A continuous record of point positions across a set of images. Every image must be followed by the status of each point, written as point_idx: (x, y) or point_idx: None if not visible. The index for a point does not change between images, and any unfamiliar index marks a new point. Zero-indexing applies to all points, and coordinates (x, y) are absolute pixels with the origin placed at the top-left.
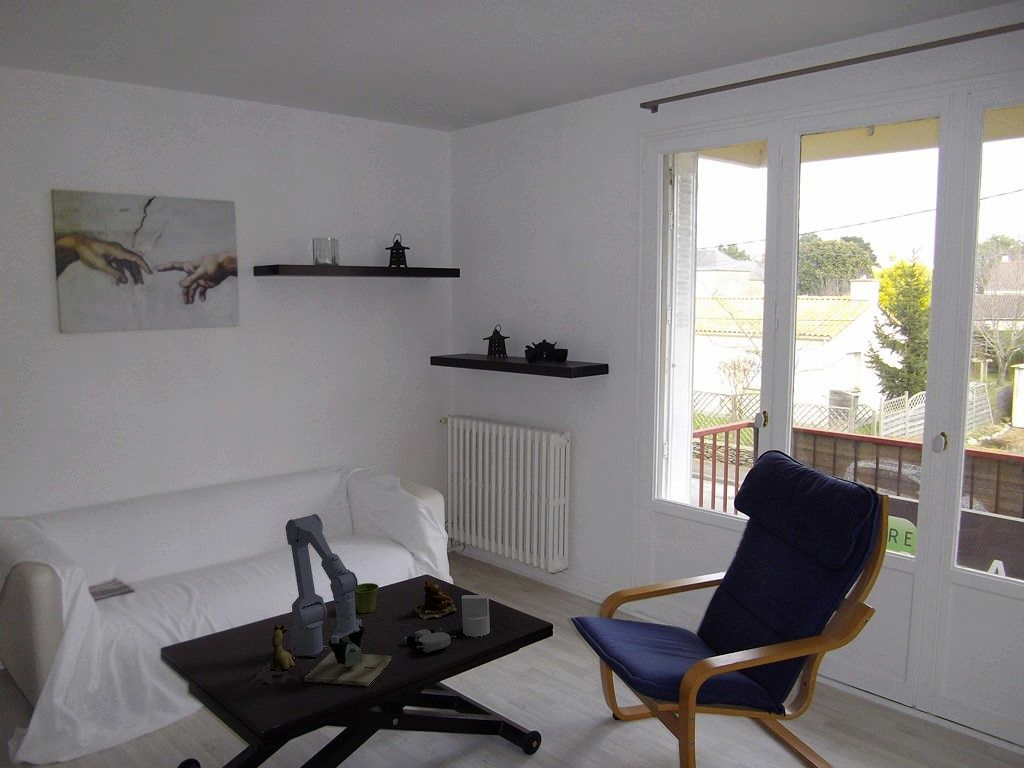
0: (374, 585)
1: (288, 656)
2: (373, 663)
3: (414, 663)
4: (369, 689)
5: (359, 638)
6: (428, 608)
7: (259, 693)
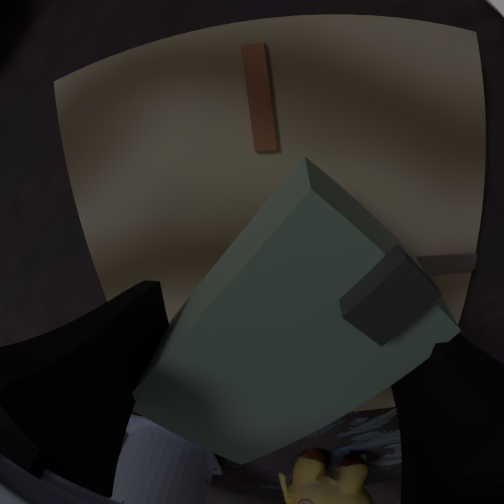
0: None
1: (329, 498)
2: (180, 117)
3: None
4: (476, 24)
5: (83, 348)
6: None
7: None
